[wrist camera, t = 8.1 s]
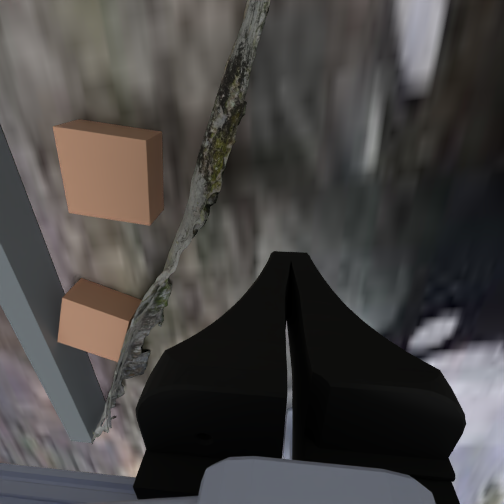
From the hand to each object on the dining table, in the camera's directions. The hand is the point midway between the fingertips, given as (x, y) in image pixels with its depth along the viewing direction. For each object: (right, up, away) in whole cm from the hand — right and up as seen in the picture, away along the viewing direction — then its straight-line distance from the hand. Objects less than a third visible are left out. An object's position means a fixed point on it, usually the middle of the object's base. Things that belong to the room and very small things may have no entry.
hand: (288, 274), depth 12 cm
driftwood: (-7, 0, +10) cm, 12 cm away
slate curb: (-16, -1, +11) cm, 19 cm away
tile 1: (-9, +6, +6) cm, 12 cm away
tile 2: (-12, -3, +12) cm, 18 cm away
